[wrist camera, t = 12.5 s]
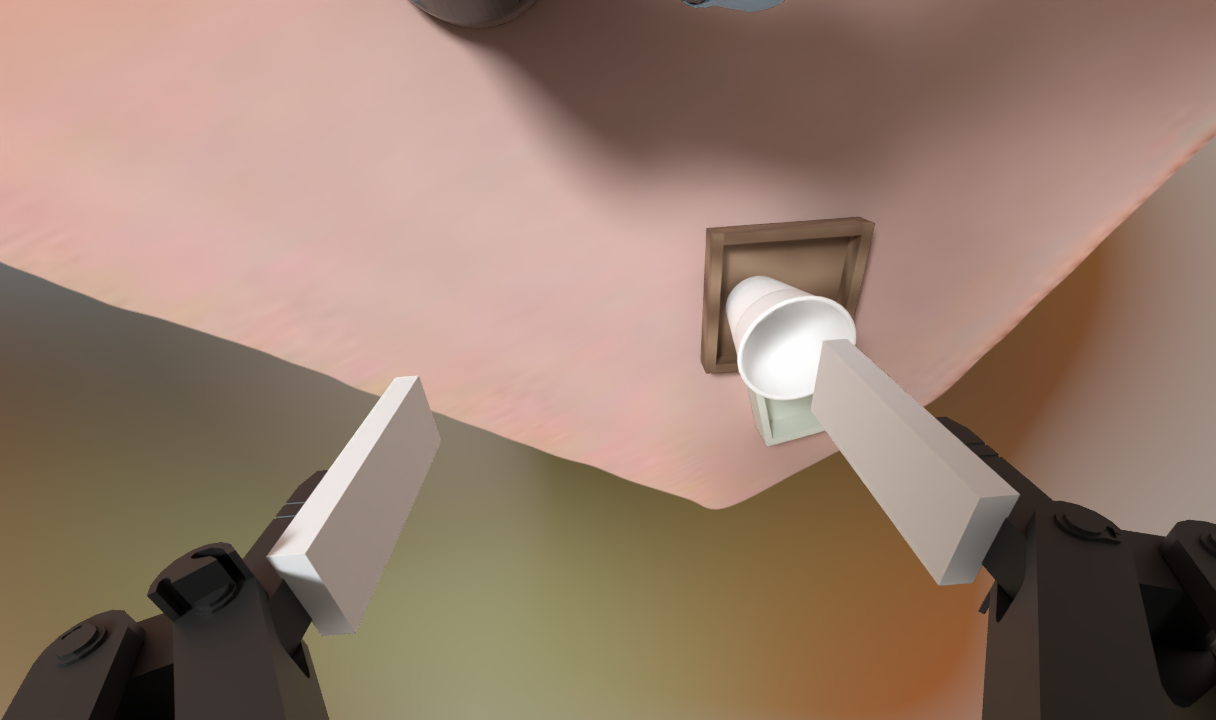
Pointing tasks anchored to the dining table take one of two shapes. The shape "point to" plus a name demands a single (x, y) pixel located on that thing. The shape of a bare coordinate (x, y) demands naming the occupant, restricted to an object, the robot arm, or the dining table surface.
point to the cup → (782, 335)
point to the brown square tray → (779, 270)
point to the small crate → (783, 418)
